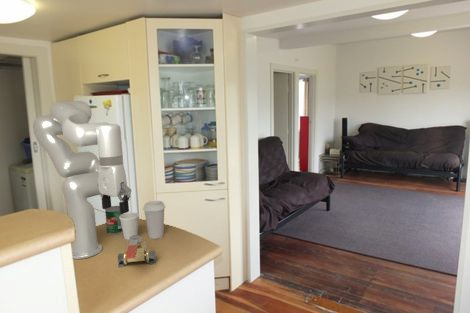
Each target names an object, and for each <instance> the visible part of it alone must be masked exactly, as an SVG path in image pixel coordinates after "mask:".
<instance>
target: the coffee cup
mask: <svg viewBox="0 0 470 313" xmlns="http://www.w3.org/2000/svg"><path fill="white" fill-rule="evenodd" d="M165 208H166V205H165V203H164V202H163V201H162V200H152V201H151V200H149V201H147V202H145V203H144V205H143V208H142V210H143V211H144V216H145V224H146V229H147V234H148V238H149V239H153V240H157V239H161V238H163V237H164V234H165V233H164V232H165V230H164V229H165ZM162 236H163V237H162Z"/></svg>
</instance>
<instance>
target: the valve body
mask: <svg viewBox="0 0 470 313" xmlns="http://www.w3.org/2000/svg"><path fill="white" fill-rule="evenodd" d="M129 245H130V242H128V245H127V246H126V250H123V253H118V255H117V263H118V264H117V268H124V267H125V266H126V265H128V264H129V263H132V262H134V263H135V262H143V261H146V264H149V265H156V259H157V256H156V250H150V248H147V246H146V241H145V240H144V241H142V242H141V243H140V244H138V248H137V253H136V257H135V258H130V259H126V251H127V248H128V246H129Z"/></svg>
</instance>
